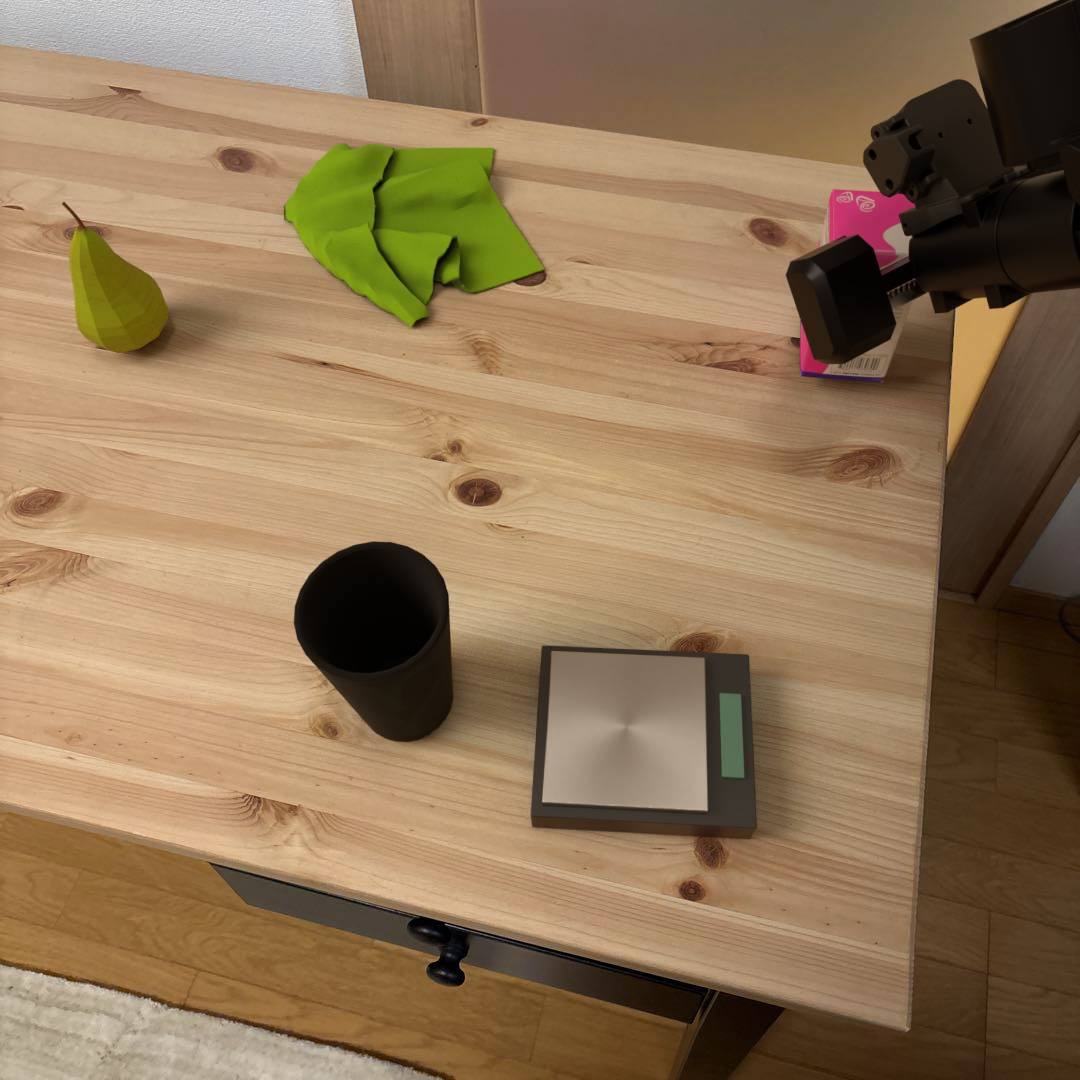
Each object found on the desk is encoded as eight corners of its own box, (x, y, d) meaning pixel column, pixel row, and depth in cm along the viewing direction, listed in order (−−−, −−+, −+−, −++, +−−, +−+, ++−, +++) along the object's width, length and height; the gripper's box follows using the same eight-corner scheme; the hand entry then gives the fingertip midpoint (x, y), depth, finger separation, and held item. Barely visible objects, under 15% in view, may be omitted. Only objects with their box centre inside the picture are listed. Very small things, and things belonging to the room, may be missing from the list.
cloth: (314, 135, 86) (308, 111, 84) (568, 155, 83) (568, 130, 81) (244, 313, 76) (234, 290, 73) (530, 340, 73) (528, 317, 71)
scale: (743, 670, 60) (750, 649, 57) (750, 839, 55) (759, 825, 52) (542, 661, 61) (541, 640, 58) (532, 827, 56) (529, 813, 53)
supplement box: (880, 320, 72) (927, 190, 62) (883, 385, 69) (933, 258, 59) (798, 314, 72) (831, 184, 62) (797, 377, 69) (832, 251, 59)
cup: (495, 675, 60) (478, 582, 50) (424, 783, 57) (390, 708, 47) (390, 617, 62) (353, 517, 52) (316, 719, 59) (261, 633, 49)
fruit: (143, 380, 73) (71, 256, 62) (76, 352, 74) (-4, 226, 64) (196, 320, 75) (136, 192, 65) (131, 294, 77) (62, 165, 67)
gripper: (1137, 11, 51) (924, 92, 65) (847, 144, 46) (688, 199, 61) (1182, 223, 54) (969, 255, 68) (915, 367, 49) (748, 369, 64)
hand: (848, 266), depth 65 cm, fingers closed on supplement box, 8 cm apart
